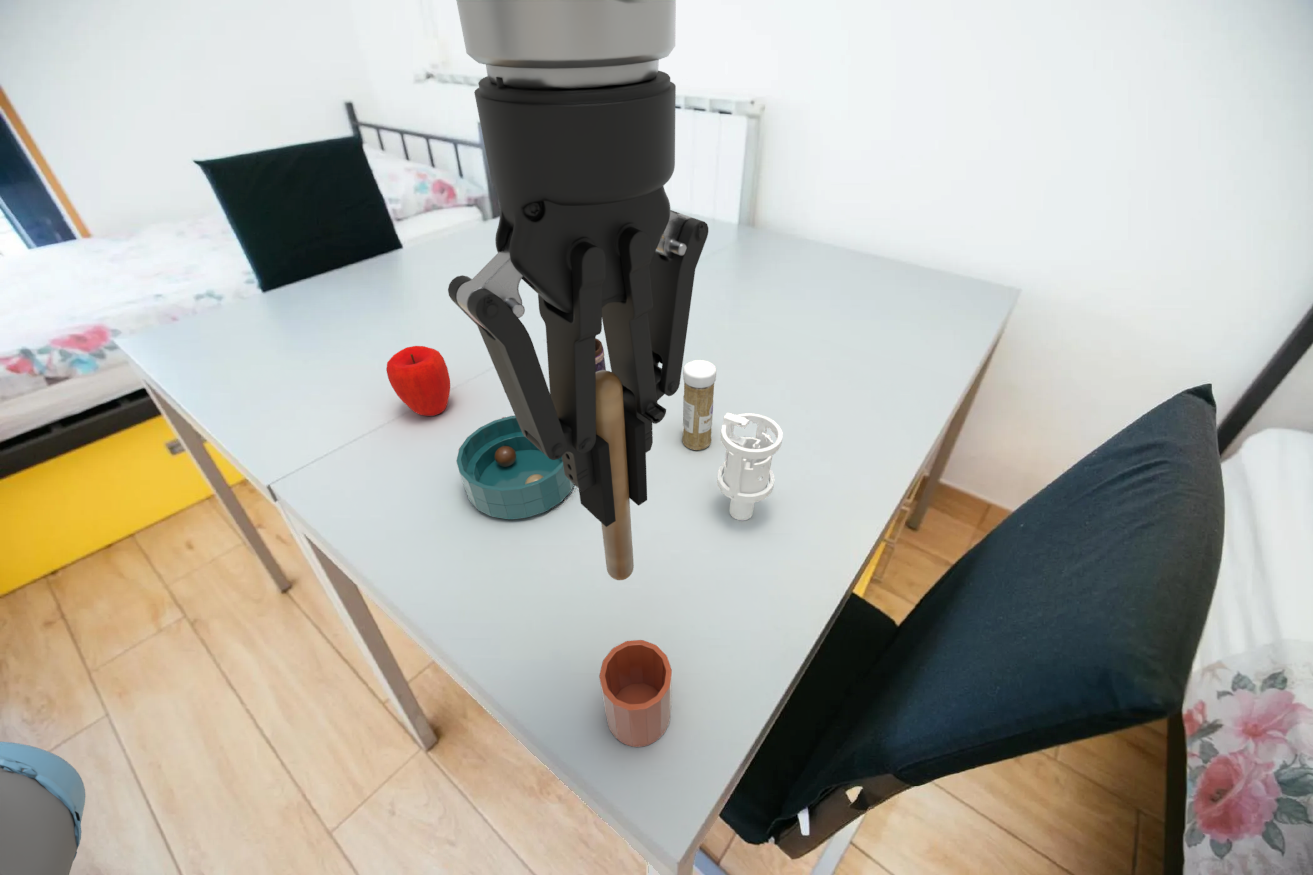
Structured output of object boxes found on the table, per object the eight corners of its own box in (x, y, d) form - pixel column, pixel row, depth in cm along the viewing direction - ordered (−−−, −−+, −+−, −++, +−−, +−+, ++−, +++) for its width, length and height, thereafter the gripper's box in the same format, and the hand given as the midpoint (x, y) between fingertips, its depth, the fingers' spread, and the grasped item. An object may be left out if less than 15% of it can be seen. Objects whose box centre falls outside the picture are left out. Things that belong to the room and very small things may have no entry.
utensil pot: (636, 763, 49) (632, 726, 44) (593, 710, 52) (585, 670, 47) (684, 714, 52) (686, 675, 47) (640, 667, 56) (638, 626, 50)
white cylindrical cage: (729, 485, 75) (739, 398, 66) (776, 505, 72) (793, 418, 63) (704, 517, 71) (711, 429, 61) (753, 540, 68) (768, 452, 58)
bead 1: (503, 474, 77) (499, 458, 75) (493, 463, 79) (488, 448, 77) (521, 464, 78) (518, 448, 76) (511, 454, 80) (507, 438, 78)
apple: (399, 403, 91) (376, 347, 84) (451, 388, 94) (434, 333, 87) (408, 432, 85) (385, 375, 78) (464, 415, 88) (446, 358, 81)
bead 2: (534, 504, 72) (531, 488, 70) (522, 492, 74) (518, 477, 72) (553, 493, 74) (550, 477, 72) (541, 481, 76) (537, 466, 74)
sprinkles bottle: (712, 451, 81) (718, 376, 72) (682, 451, 81) (684, 377, 72) (709, 431, 84) (714, 358, 76) (680, 432, 84) (682, 358, 76)
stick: (618, 590, 39) (599, 388, 28) (602, 573, 41) (576, 372, 29) (639, 575, 40) (629, 373, 29) (622, 558, 42) (605, 359, 30)
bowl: (503, 541, 68) (494, 509, 65) (448, 479, 77) (436, 448, 73) (598, 482, 76) (594, 450, 72) (538, 432, 85) (532, 401, 81)
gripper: (423, 108, 14) (549, 608, 29) (782, 58, 22) (734, 476, 37) (329, 80, 18) (482, 529, 34) (657, 46, 26) (660, 425, 41)
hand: (614, 501), depth 35 cm, fingers closed on stick, 2 cm apart
